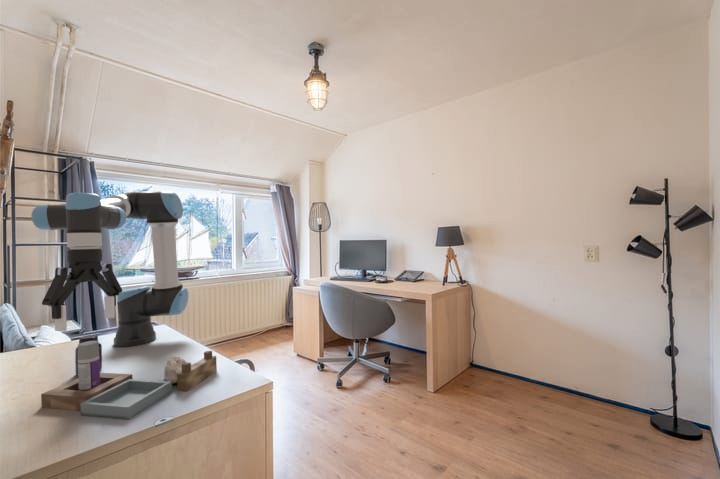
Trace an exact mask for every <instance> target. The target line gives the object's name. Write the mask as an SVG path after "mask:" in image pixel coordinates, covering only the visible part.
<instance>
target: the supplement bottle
mask: <svg viewBox="0 0 720 479" xmlns="http://www.w3.org/2000/svg"><path fill="white" fill-rule="evenodd" d="M98 338H99V337H98V334H89V335H88V334H87V335H84V336H80V337H79V338H78V340H79V341H78V344H80V343H83V342H87V341H98V344H99V359H100V372H101V371H102V368H103V355H102V354H103V352H102V351H103V350H102V349H103V348H102V346H103V345H102V344H101V342H99V339H98ZM74 353H75V355H74V356H75V358H74V363H75V364H74V365H75V370H74V371H75V375H76V376H77V377H78V346H76V347H75V350H74Z"/></svg>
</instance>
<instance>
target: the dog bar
mask: <svg viewBox="0 0 720 479" xmlns="http://www.w3.org/2000/svg"><path fill="white" fill-rule="evenodd" d="M215 371H216V372H217V371H218V370H217V356H216V355H213V351H212V350H206V351H204V352H203V358H202V359H199V360H198V361H196V362H194V363H193V364H192V362H187V363H183V364H182V371H180V372H179V373H177V383H176V385H177V386H176V387H177V391H178V392H188V391H189V390H191V389H192V388H194V387H196V386H197V385H198V384H200V383H202V382H203V381H205V380H206V379H207V378H209V377H210V376H212V375H213V374H215V373H216V372H215ZM214 372H215V373H214ZM211 374H212V375H211ZM208 376H209V377H208Z"/></svg>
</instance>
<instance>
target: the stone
mask: <svg viewBox="0 0 720 479" xmlns="http://www.w3.org/2000/svg"><path fill="white" fill-rule="evenodd" d="M183 363H188V362H187V361H186V360H185V359H184V358H181V357H178V356H173V355H170V356H169V357H167V359H166V364H165V366H164V373H163V374H164V381H168V382H172V385H173V384H174V385H175V384H177V373H179V372H180V371H182V364H183Z"/></svg>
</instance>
